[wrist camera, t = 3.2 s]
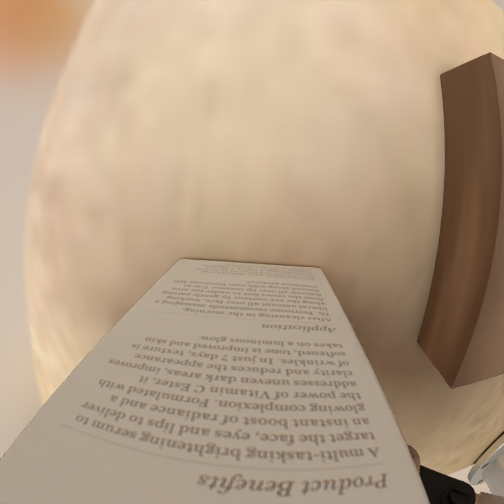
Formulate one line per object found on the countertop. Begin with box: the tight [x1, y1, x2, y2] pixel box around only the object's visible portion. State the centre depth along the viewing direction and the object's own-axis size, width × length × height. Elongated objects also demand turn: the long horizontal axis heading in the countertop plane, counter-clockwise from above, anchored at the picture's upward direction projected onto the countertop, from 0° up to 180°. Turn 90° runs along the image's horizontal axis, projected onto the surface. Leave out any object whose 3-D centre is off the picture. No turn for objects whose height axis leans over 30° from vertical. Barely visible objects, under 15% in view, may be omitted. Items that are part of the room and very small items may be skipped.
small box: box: [0, 259, 430, 504], centre depth 7 cm, size 8×6×10 cm
